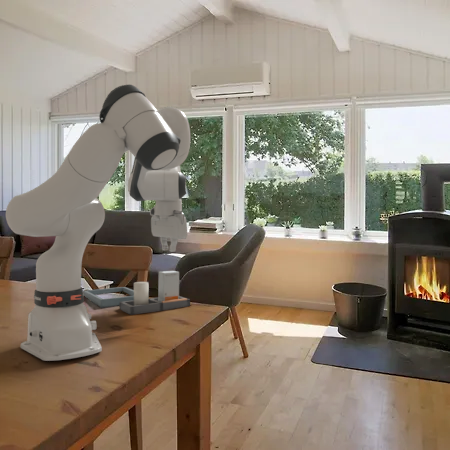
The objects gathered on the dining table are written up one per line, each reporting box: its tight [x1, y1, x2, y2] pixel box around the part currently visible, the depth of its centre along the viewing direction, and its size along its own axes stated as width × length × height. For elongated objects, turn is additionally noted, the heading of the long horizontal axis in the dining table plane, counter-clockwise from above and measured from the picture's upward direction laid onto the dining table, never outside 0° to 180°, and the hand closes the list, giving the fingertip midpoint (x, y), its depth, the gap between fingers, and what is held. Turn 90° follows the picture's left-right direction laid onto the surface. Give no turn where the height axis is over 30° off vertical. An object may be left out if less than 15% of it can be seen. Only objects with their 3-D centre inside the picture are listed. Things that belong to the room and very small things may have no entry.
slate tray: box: [83, 286, 134, 309], centre depth 165 cm, size 20×16×3 cm
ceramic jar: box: [133, 281, 150, 306], centre depth 151 cm, size 5×5×9 cm
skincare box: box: [157, 270, 180, 302], centre depth 156 cm, size 6×4×12 cm
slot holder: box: [118, 295, 191, 316], centre depth 154 cm, size 9×22×3 cm, turn 124°
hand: (168, 251), depth 156 cm, fingers open, 4 cm apart
